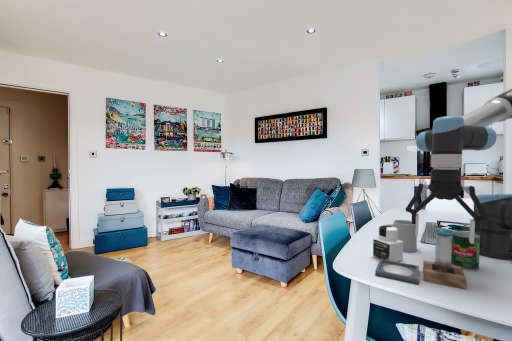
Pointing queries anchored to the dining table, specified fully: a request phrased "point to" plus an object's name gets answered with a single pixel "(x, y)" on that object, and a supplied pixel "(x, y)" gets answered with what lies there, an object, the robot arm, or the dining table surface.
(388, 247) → the medicine bottle
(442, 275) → the frame
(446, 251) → the pin
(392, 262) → the dock cradle
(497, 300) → the dining table surface
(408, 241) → the mug
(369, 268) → the dining table surface
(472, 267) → the canned tomato
